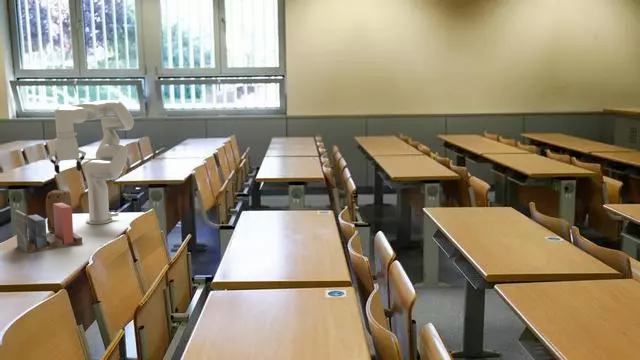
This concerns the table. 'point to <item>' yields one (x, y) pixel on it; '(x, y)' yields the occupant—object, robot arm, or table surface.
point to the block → (51, 199)
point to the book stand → (37, 234)
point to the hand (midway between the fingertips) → (68, 171)
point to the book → (63, 222)
